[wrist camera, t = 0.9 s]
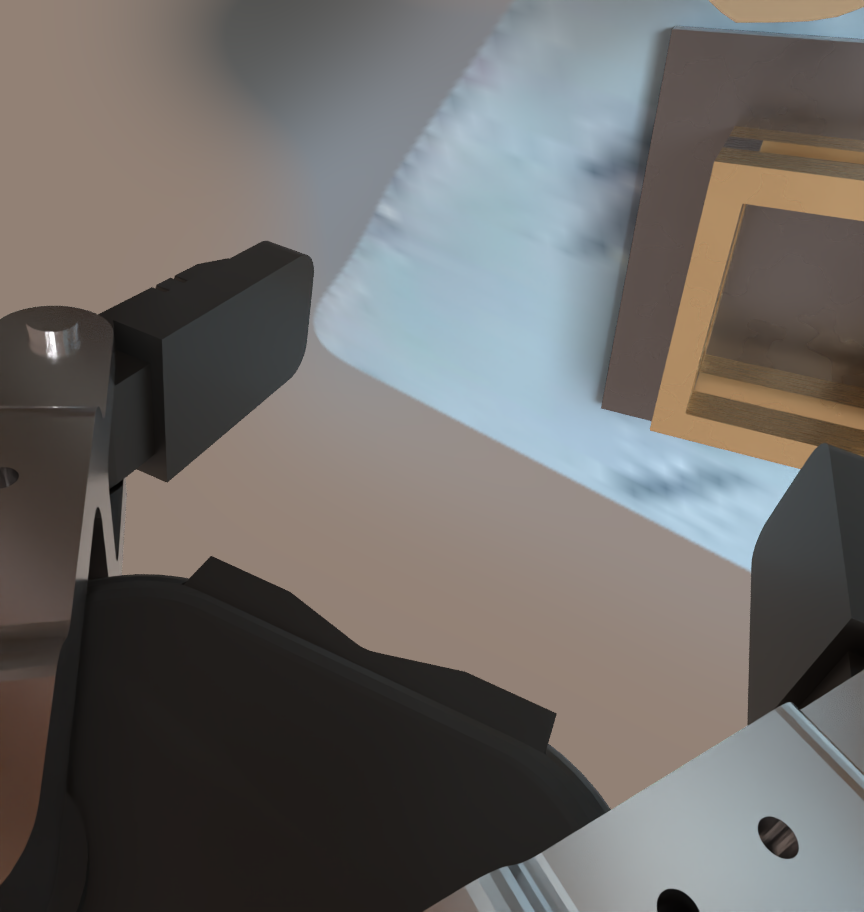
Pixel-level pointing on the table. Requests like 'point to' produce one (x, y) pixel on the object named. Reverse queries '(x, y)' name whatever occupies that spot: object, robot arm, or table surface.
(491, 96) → the table surface
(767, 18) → the handle
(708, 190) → the collar stand
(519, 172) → the table surface
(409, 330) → the table surface
